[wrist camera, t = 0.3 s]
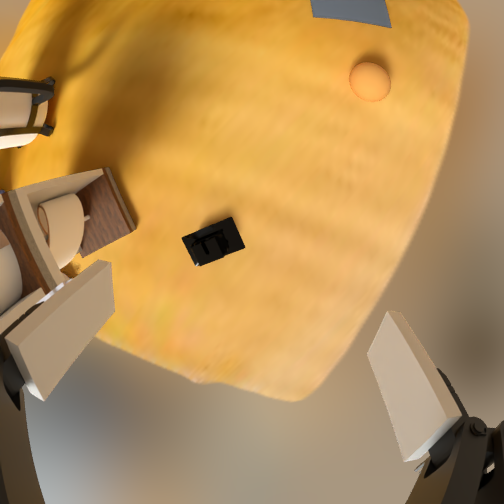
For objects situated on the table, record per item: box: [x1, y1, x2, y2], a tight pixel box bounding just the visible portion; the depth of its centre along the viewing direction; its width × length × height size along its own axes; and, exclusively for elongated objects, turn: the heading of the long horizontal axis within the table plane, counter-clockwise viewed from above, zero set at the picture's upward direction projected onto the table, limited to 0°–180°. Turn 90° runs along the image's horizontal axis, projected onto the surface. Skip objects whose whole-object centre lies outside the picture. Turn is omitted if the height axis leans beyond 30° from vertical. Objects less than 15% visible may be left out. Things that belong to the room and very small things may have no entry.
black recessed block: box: [182, 217, 245, 266], centre depth 38 cm, size 12×7×5 cm, turn 113°
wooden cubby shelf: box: [0, 167, 136, 334], centre depth 22 cm, size 11×11×35 cm
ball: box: [349, 62, 391, 102], centre depth 27 cm, size 6×6×6 cm
